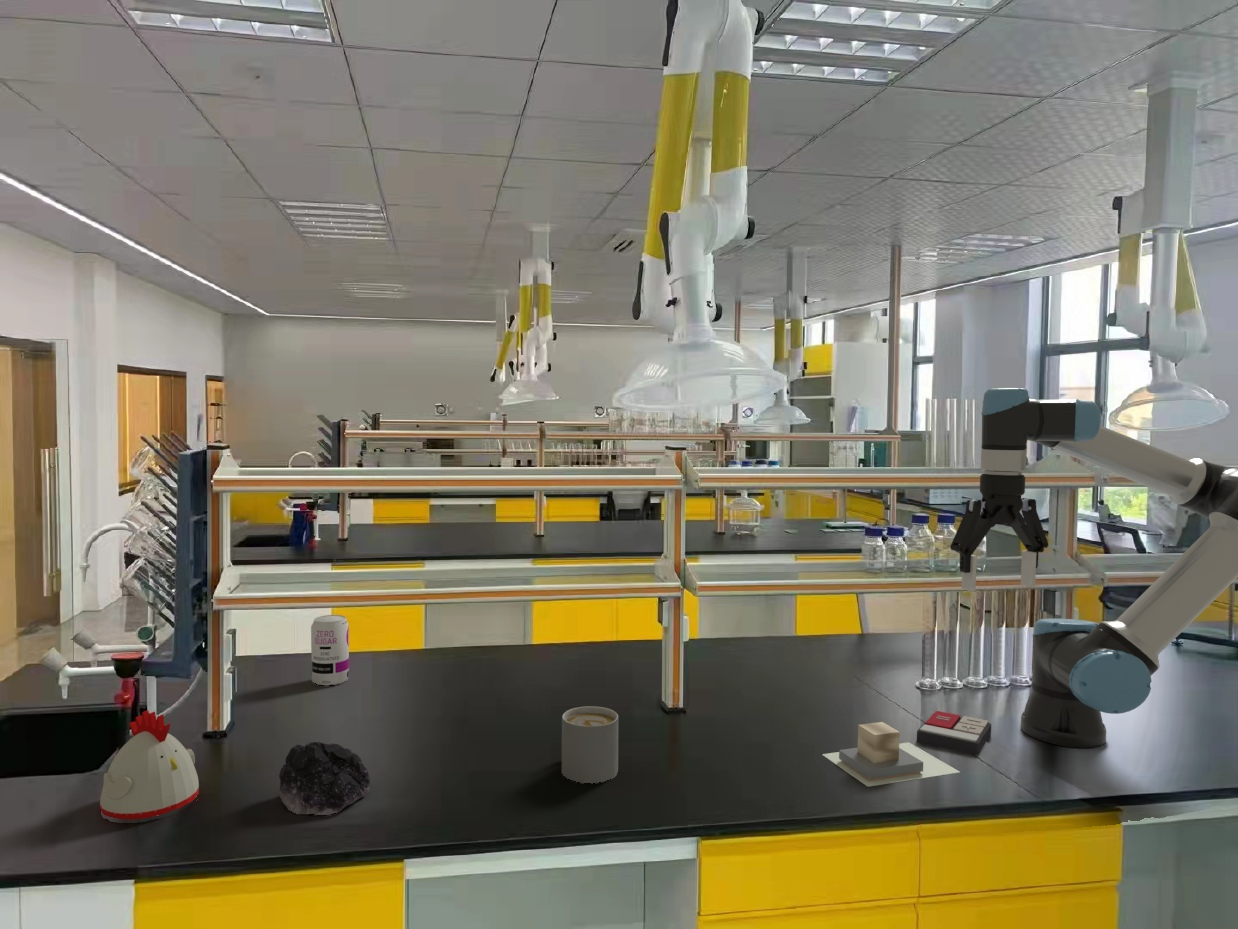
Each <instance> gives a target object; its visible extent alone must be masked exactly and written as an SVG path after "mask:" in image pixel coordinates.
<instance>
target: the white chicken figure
mask: <svg viewBox="0 0 1238 929" xmlns="http://www.w3.org/2000/svg"><path fill="white" fill-rule="evenodd" d="M141 713H142V714H141V715H138V716H136V717H135V720H134V721H131V722H129V727H130V731H131V734H132V736H133V737H131V738H130V739H129V740H128V741H127V742H126V743H125V744H123V746H122V747H121V748H120V749H119V751H118V752H117V754H116V755H115V757H113V759H112V761H111V763H110V765H109V768H108V771H107V772H105V773H104V774H103V786H102V789H101V794H100V799H99V810H100V809H101V811H102V813H103V814H104V815H106V816H109V817H113V818H118V819H142V818H149V817H153V816H159V815H161V814H164V813H167V812H170V811H172V810H175V809H179V808H181V807H183V806H184V805H186V804H188V803H190V802H192V801H193V800H194V799H195V798H196V797H197V795H198V794H199V795H200V787H199V786H200V784H199V783H200V782H199V776H198V773H197V770H196V767H195V763H196V757H195V753H194V751H193V750H192V749H191V748H186V747H185V746H184V745H183V744H182V743H181V742H180V741H179V739H177V738H176V737H175V736H173V735H172V734H170V733H169V731H170V727H171V723H167V724H165V717H164V714H160V715H158V716H157V715H156V711H151V712H150V711H149V710H148V709H147V710H145V711H142V712H141Z"/></svg>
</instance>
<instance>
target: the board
mask: <svg viewBox="0 0 1238 929" xmlns="http://www.w3.org/2000/svg"><path fill="white" fill-rule="evenodd" d="M899 748H900V749H902V750H904V751H905V752H907V753H909V754H910V755H912V756H914V757H915V758H917V759H919V760H921V761H922V762H923V771H921V772H920V773H917V774H911V775H904V776H897V777H891V778H884V779H878V780H871V781H869V780H868V779H866V778H865V777H863V776H862V775H860V774H859V773H858V772H856V771H855V770H853V769H852V768H850V767H849V766H847V765H846V764H844V763H843V762H842V761H841V760H840V759H839V751H837V752H835V751H834V752H830V753H829V752H828V753H823V754H821V755H822V756H823V757H825V758H826V759H828V760H829V762H831V763H833V764H835V766H837V767H839V768H841V769H842V770H843V771H844V772H846V773H847V774H848V775H851V776H852V777H853V778H855V779H856V780H857V781H858V782H861V784H864V785H865V786H866V787H874V786H881V785H887V784H894V783H902V782H907V781H913V780H919V779H926V778H932V777H940V776H946V775H951V774H960V773H961V771H959V770H957V769H956V768H954V767H952V766H951V765H949V764H947V762H944V761H942V760H940V759H938V758H937V757H936V756H933V755H932V754H930V753H928V752H926V751H924V750H922V749H921V748H919V747H918V746H916V745H914V744H912V743H911V742H902V743H901V742H899Z"/></svg>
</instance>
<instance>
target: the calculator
mask: <svg viewBox="0 0 1238 929" xmlns="http://www.w3.org/2000/svg"><path fill="white" fill-rule="evenodd" d="M991 736H992V723H991V722H989V720H987V719H981V718H976V717H971V716H966V715H964V716H962V717H961V714H956V713H951V712H946V711H939V710H936V711H935V712H933V713H932V714H931V716H929V717H928V719H927V720H926V721H925V722H924V723H923V724H922V725H921V726H920V727H919V728H918V729H917V730H916V743H919V744H923V745H928V746H931V747H932V746H933V747H937V748H941V749H942V748H943V749H946V750H951V751H956V752H960V753H966V754H971V755H973V756H975V755H976V756H977V755H979V754H980V751H981V750H982V749H983V747H984V744H985V742H986V743H988V742H989V741H990V739H991Z"/></svg>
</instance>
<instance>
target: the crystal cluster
mask: <svg viewBox="0 0 1238 929" xmlns="http://www.w3.org/2000/svg"><path fill="white" fill-rule="evenodd" d="M278 775H279V783H280V786H279V792H280V793H279V795H280V796H279V798H280V799H281V802H282V804H283V805H285V807H286V808H287V810H288V811H289V810H290V811H289V812H291V811H292V812H291V813H293V814H295V813H296V815H308V814H314V815H313V816H317V815H328V814H332V813H336V814H339V813H340V812H341V811H342V810H344V809H345V808H347V807H348V806H350V805H352V804H354V803H355V802H357V801H358V800H359V799H361V798H362V797H364V796H366V795H367V794H368V793H369V792H370V783H371V777H370V775H369V770H368V768H366V766H365V765H364V763H363V761H362V759H361V757H360V756H359V755H358V754H357V753H355V752H354V751H352V750H351V749H349V748H348V747H347V748H346V747H345V748H344V747H343V746H341V745H340V744H338V743H324V742H320V741H315V740H314V741H311V742H308V743H306V744H305V745H302V744H295V745H293V746H292V747H291V748H290V749H289V752H288V753H287V756H286V758H285V764H283V765H282V767H281V768H280V772H279V774H278Z"/></svg>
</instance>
